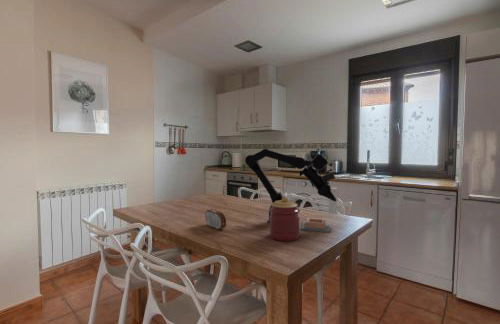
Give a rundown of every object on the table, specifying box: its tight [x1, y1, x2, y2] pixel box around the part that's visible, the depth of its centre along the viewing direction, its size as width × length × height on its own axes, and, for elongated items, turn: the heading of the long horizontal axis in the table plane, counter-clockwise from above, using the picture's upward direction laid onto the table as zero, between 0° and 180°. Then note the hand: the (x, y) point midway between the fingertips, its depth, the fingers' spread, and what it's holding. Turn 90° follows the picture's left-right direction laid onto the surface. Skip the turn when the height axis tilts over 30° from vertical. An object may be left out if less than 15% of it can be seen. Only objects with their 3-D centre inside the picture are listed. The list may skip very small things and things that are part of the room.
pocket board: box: [300, 217, 331, 233], centre depth 129 cm, size 13×13×3 cm
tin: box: [204, 208, 227, 231], centre depth 128 cm, size 15×3×8 cm, turn 41°
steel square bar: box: [327, 186, 338, 215], centre depth 131 cm, size 4×4×12 cm
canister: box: [269, 195, 301, 242], centre depth 114 cm, size 13×13×18 cm
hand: (335, 200), depth 131 cm, fingers closed on steel square bar, 4 cm apart
